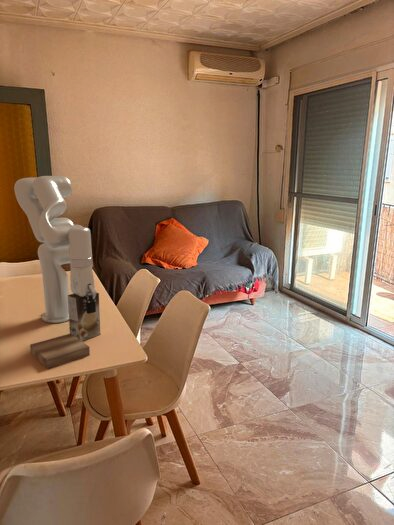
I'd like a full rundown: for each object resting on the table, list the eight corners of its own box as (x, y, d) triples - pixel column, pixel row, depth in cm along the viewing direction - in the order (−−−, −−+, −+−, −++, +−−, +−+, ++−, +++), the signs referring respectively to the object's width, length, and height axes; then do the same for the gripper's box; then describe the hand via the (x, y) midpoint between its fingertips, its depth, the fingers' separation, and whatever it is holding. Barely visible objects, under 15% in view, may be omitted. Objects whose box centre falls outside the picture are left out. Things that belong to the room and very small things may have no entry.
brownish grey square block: (30, 353, 131) (30, 344, 130) (71, 341, 140) (70, 333, 139) (47, 368, 121) (46, 359, 120) (89, 355, 130) (89, 346, 129)
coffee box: (80, 342, 139) (77, 299, 135) (69, 337, 143) (66, 295, 139) (101, 334, 146) (99, 292, 142) (90, 329, 150) (88, 289, 146)
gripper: (60, 260, 142) (64, 306, 145) (82, 268, 129) (86, 318, 133) (80, 257, 147) (83, 302, 150) (103, 264, 134) (106, 312, 138)
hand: (84, 309), depth 142 cm, fingers open, 9 cm apart
